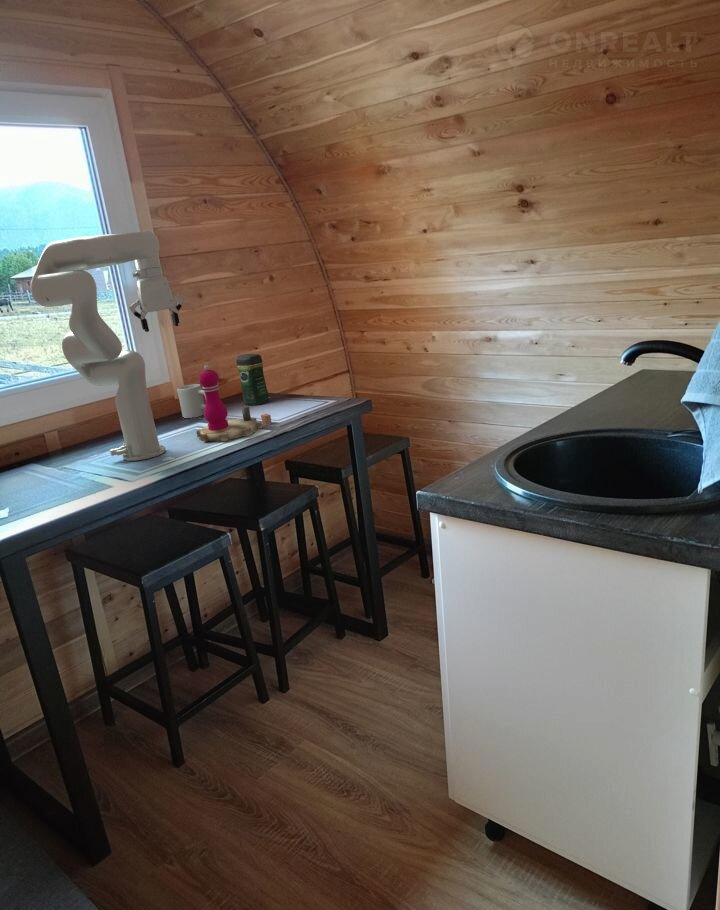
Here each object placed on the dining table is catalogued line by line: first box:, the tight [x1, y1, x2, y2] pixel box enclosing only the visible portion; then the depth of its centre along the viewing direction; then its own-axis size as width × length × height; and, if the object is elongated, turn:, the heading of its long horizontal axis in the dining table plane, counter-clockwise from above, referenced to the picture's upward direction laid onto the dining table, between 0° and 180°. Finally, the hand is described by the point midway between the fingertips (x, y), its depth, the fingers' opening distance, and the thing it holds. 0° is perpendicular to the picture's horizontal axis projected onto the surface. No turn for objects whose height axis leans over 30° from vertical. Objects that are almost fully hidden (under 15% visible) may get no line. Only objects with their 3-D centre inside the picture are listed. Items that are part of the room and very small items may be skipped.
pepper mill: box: [198, 364, 228, 430], centre depth 222 cm, size 7×7×20 cm
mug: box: [176, 383, 206, 419], centre depth 259 cm, size 12×8×11 cm
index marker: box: [260, 413, 273, 426], centre depth 233 cm, size 2×3×3 cm, turn 32°
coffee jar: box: [235, 353, 270, 406], centre depth 266 cm, size 10×8×19 cm
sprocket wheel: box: [195, 406, 263, 442], centre depth 226 cm, size 20×20×6 cm
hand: (161, 328), depth 231 cm, fingers open, 9 cm apart
